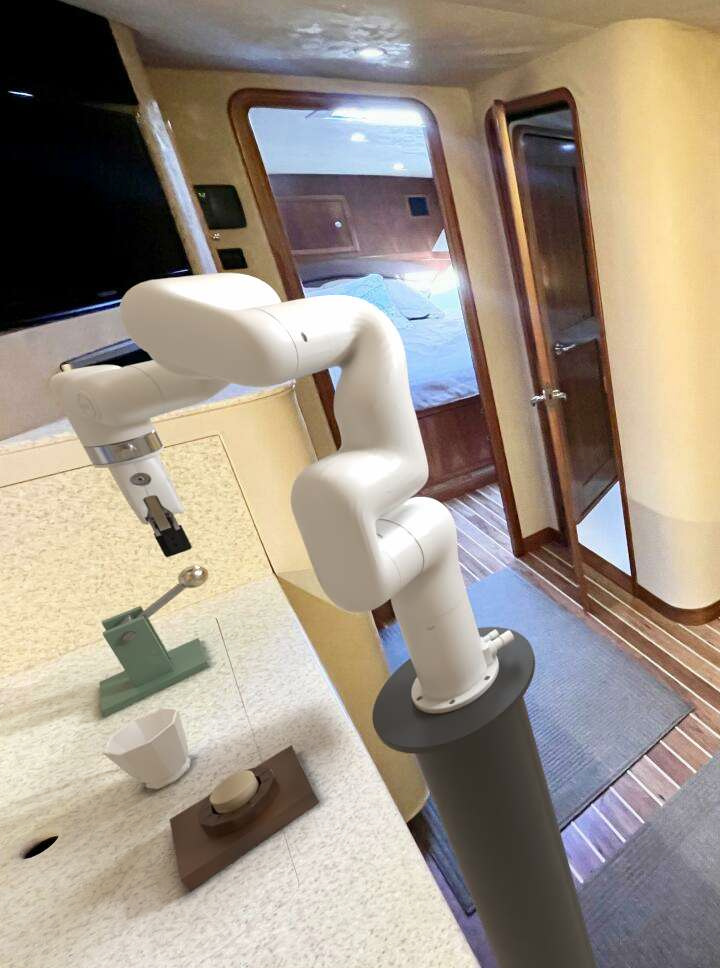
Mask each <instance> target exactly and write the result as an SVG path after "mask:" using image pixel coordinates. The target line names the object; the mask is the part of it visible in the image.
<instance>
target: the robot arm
mask: <svg viewBox="0 0 720 968" xmlns="http://www.w3.org/2000/svg"><path fill="white" fill-rule="evenodd" d="M118 309H119V311H118V315H119V320H120V323H121V325H122V328H123V330H124V332H125V333H126V335H127V336H128V337H129V339H130V340H131V341H132V342H133V343H134V344H135V345H136V346H138V348H140V349H141V350H143V351H144V352H146V353H147V354H148V355H149V356H150V358H151V360H147V361H143V362H139V363H138V362H137V363H134V364H129V365H125V366H119V365H115V364H99V365H91V366H84V367H78V368H72V369H69V370H64V371H61V372H58V373H56V374H54V375H53V376H52V377H51V378H50V381H49V385H50V388H51V390H52V392H53V394H54V396H55V398H56V399H57V401H58V403H59V405H60V407H61V409H62V411H63V412H64V415H65V416H66V418H67V420H68V422H69V423H70V425H71V427H72V430H73V431H74V433H75V435H76V436H77V438H78V440H79V442H80V444H81V445H82V447H83V449H84V451H85V453H86V455H87V456H88V458H89V460H90V462H91V464H92V466H93V467H94V468H97V469H106V468H108V470H109V472H110V474H111V476H112V478H113V479H114V482H115V483H116V485H117V487H118V488H119V490H120V492H121V494H122V495H123V497H124V499H125V501H126V502H127V503H128V505H129V507H130V508H131V510H132V511H133V513H134V514H135V515H136V517H137V518H138V520H139V521H140V523H141V524H142V525H150V527H151V529H152V530H153V536H154V538H155V540H156V542H157V544H158V546H159V548H160V550H161V551H162V554H163V555H164V557H166V558H170V557H172V556H175V555H179V554H181V553H185V552H188V551H190V550H191V549H192V548H193V547H192V544H191V542H190V540H189V538H188V536H187V533H186V532H185V530H184V528H183V526H182V524H179V522H178V520H177V518H176V517H175V515H178V514H180V515H183V514H184V513H185V511H186V509H185V507H184V505H183V502H182V500H181V498H180V496H179V494H178V491H177V490H176V488H175V486H174V483H173V481H172V479H171V477H170V475H169V473H168V471H167V469H166V468H165V466H164V464H163V462H162V460H161V458H160V457H159V454H161V453H162V452H163V451H165V446H164V444H163V443H162V440H161V439H160V436H159V434H158V432H157V430H156V428H155V426H154V424H153V422H152V419H153V418H155V417H158V416H162V415H164V414H168V413H171V412H174V411H178V410H181V409H185V408H188V407H191V406H195V405H199V404H201V403H203V402H205V401H207V400H210V399H212V398H213V397H215V396H217V395H218V394H219V393H221V392H222V391H223V390H225V389H226V388H227V387H228V386H230V385H231V384H234V385H238V386H243V387H248V388H249V387H250V388H266V387H273V386H277V385H281V384H284V383H287V382H290V381H293V380H297V379H300V378H303V377H306V376H309V375H312V374H317V373H319V372H322V371H325V370H328V369H331V368H334V367H338V368H339V369H340V370H341V373H340V375H339V377H338V381H337V383H336V386H335V391H334V396H333V414H334V419H335V421H336V423H337V426H338V430H339V434H340V440H341V441H340V442H341V444H340V447H339V449H338V450H337V451H335V452H333V453H331V454H329V455H327V456H325V457H322V458H321V459H319V460H316V461H315V462H313V463H311V464H310V465H308V466H307V467H306V468H304V469H303V470H302V471H301V472H300V473H299V474H298V475H297V477H296V478H295V480H294V482H293V483H292V486H291V491H290V506H291V511H292V514H293V517H294V520H295V523H296V525H297V529H298V531H299V534H300V536H301V539H302V542H303V545H304V548H305V550H306V553H307V555H308V558H309V561H310V564H311V566H312V569H313V572H314V574H315V577H316V579H317V581H318V584H319V586H320V587H321V589H322V591H323V592H324V594H325V595H326V597H327V598H328V599H329V600H330V601H331V602H332V603H333V605H335V606H337V607H338V608H340V609H341V610H343V611H346V612H349V613H354V614H362V613H363V614H364V613H368V612H371V611H373V610H376V609H378V608H379V607H381V606H383V605H384V604H385V603H387V602H388V601H389V600H390V603H391V607H392V610H393V613H394V617H395V619H396V621H397V625H398V627H399V630H400V632H401V635H402V638H403V641H404V644H405V647H406V649H407V652H408V655H409V659H410V658H411V660H412V663H413V666H414V669H415V671H416V674H417V678H416V679H415V681H414V683H413V686H412V690H411V696H412V699H413V702H414V704H415V706H416V707H417V708H418V709H420V710H421V711H424V712H426V713H433V714H436V713H445V712H450V711H453V710H456V709H459V708H461V707H463V706H465V705H467V704H469V703H471V702H472V701H474V700H476V699H477V698H478V697H479V696H481V695H482V694H483V693H484V692H485V691H486V690H487V689H488V688H489V687H490V686H491V684H492V683H493V682H494V680H495V678H496V676H497V674H498V671H499V662H498V658H497V656H496V654H497V650H499V649H500V648H502V647H503V646H506V645H507V644H509V643H510V642H512V641H513V640H514V636H513V634H512V633H511V631H509V630H508V631H506V632H505V633H503V634H502V635H500V636H499V634H498V632H497V630H493V631H492V632H490V633H489V634H488V635H486V636H485V637H480V635H479V632H478V629H477V628H478V626H477V622H476V618H475V615H474V612H473V609H472V606H471V602H470V599H469V595H468V591H467V588H466V584H465V580H464V577H463V573H462V569H461V565H460V559H459V550H458V549H459V547H458V546H459V545H458V531H457V526H456V522H455V519H454V517H453V514H452V513H451V511H450V510H449V509H448V508H447V507H446V506H445V504H443V503H442V502H440V501H439V500H438V499H437V500H436V499H435V498H432V497H429V496H428V497H427V496H414V495H416V494H417V493H418V492H419V491H421V489H423V487H424V486H425V485H426V483H427V482H428V480H429V474H430V473H429V472H430V471H429V463H428V458H427V454H426V453H427V452H426V450H425V446H424V442H423V437H422V434H421V430H420V429H421V428H420V426H419V421H418V417H417V414H416V410H415V406H414V403H413V398H412V393H411V390H410V389H411V388H410V381H409V370H408V361H407V355H406V351H405V350H406V349H405V347H404V343H403V340H402V337H401V335H400V333H399V331H398V329H397V328H396V326H395V325H394V323H393V321H391V319H390V318H389V317H388V316H387V315H386V314H385V312H384V311H382V310H381V309H379V308H378V307H377V306H375V305H374V304H372V303H370V302H368V301H366V300H364V299H361V298H359V297H354V296H349V295H342V294H341V295H340V294H339V295H338V294H336V295H335V294H333V295H332V294H331V295H329V294H328V295H318V296H310V297H304V298H298V299H293V300H292V299H291V300H288V301H284V302H282V300H281V298H280V296H279V294H278V293H277V292H276V291H275V290H274V288H272V287H271V286H270V284H267V283H266V282H265V281H262V280H261V279H259V278H258V277H257V278H256V277H253V276H250V275H247V274H244V273H238V272H212V273H203V274H196V275H185V276H178V277H177V276H176V277H166V278H157V279H149V280H146V281H143V282H140V283H137V284H135V285H134V286H132V287H131V288H130V289H128V290H127V291H126V292H125V294H124V295H123V297H122V298H121V301H120V304H119V308H118ZM413 496H414V497H413ZM497 637H498V638H497ZM494 639H495V640H494Z"/></svg>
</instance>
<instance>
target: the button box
mask: <svg viewBox="0 0 720 968" xmlns="http://www.w3.org/2000/svg"><path fill="white" fill-rule="evenodd" d="M246 770H247V771H251V772H253V774H254V776H255V777H256V779H257V781H258V783H259V788H258V790H257V792H256V794H255V795H254V796H253V797H252V798H251V799H250V800H249V801H248V802H247V803H245V804H244V805H242V806H241V807H239V808H237V809H236V810H234V811H232V812H229V813H226V814H220V813H218V812H216V810H215V808H214V807H213V805H212V804H211V802H210V796H211V793H212V792H213V791H211V792H210V793H208V795H207V796H205V797H203V798H202V799H200V800H198V801H197V802H195V803H194V804H192V805H190V806H188V807H187V808H185V809H184V810H182V811H180V812H179V813H177V814H176V815H174V816H172V817H171V818H169V824H170V831H171V835H172V841H173V846H174V852H175V857H176V862H177V863H176V864H177V868H178V869H177V870H178V874H179V879H180V882H181V883H182V884H183V886H184V887H185V889H186V890H187V891H188V892H189V893H191V892H192V891H194V890H195V889H196V888H199V887H200V886H201V885H202V884H204V883H205V882H207V881H208V880H210V879H211V878H213V876H214V877H215V875H217V874H218V873H220V872H221V871H222V870H224V869H226V868H227V867H228V866H230V865H231V864H233V863H234V862H235V861H237V860H238V859H240V858H241V857H243V856H244V855H246V854H247V853H248V852H250V851H252V850H253V849H254V848H256V847H257V846H259V845H260V844H261V843H263V842H264V841H266V840H267V839H268V838H271V836H273V835H275V834H276V833H278V831H280V830H282V829H283V828H284V827H286V826H287V825H289V824H291V823H292V822H293V821H295V820H297V819H298V818H299V817H301V816H302V815H304V814H305V813H307V812H308V811H309V810H310V809H312V808H313V807H315V806H316V805H318V804H319V803H320V800H319V798H318V796H317V793H316V792H315V790H314V787H313V785H312V783H311V780H310V778H309V777H308V774H307V772H306V770H305V768H304V766H303V764H302V762H301V760H300V757H299V755H298V753H297V751H296V749H295V747H294V746H293V744H290V745H289V746H287V747H286V748H284V749H282V750H280V751H279V752H278V753H276V754H274V755H273V756H271V757H269V758H268V759H265V760H264V761H263V762H260V764H259V763H258V765H256V766H254V767H251V768H247V769H244V770H243V771H246Z"/></svg>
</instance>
